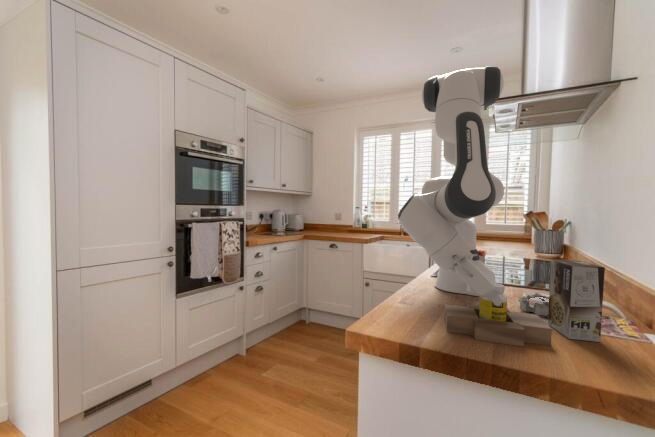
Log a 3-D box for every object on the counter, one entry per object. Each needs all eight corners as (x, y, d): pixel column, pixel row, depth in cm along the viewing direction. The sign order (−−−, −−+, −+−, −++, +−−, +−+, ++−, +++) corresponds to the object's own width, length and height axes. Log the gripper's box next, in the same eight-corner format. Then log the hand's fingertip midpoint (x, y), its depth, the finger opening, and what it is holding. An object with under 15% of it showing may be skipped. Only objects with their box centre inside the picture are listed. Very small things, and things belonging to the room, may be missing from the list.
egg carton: (543, 318, 80) (543, 302, 79) (514, 309, 86) (515, 294, 86) (565, 312, 84) (565, 297, 84) (536, 304, 91) (536, 290, 91)
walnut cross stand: (443, 314, 80) (444, 301, 79) (532, 325, 73) (533, 311, 73) (447, 335, 66) (447, 319, 66) (555, 351, 60) (556, 333, 60)
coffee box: (602, 342, 65) (606, 267, 64) (567, 339, 66) (571, 265, 65) (576, 326, 74) (580, 260, 73) (546, 323, 75) (550, 258, 74)
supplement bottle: (491, 332, 67) (493, 287, 66) (473, 322, 72) (475, 281, 71) (511, 330, 68) (513, 287, 67) (492, 321, 73) (494, 280, 73)
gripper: (468, 250, 61) (521, 304, 59) (458, 240, 81) (497, 280, 78) (444, 270, 63) (494, 323, 60) (439, 255, 82) (478, 295, 80)
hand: (496, 298), depth 69 cm, fingers closed on supplement bottle, 5 cm apart
